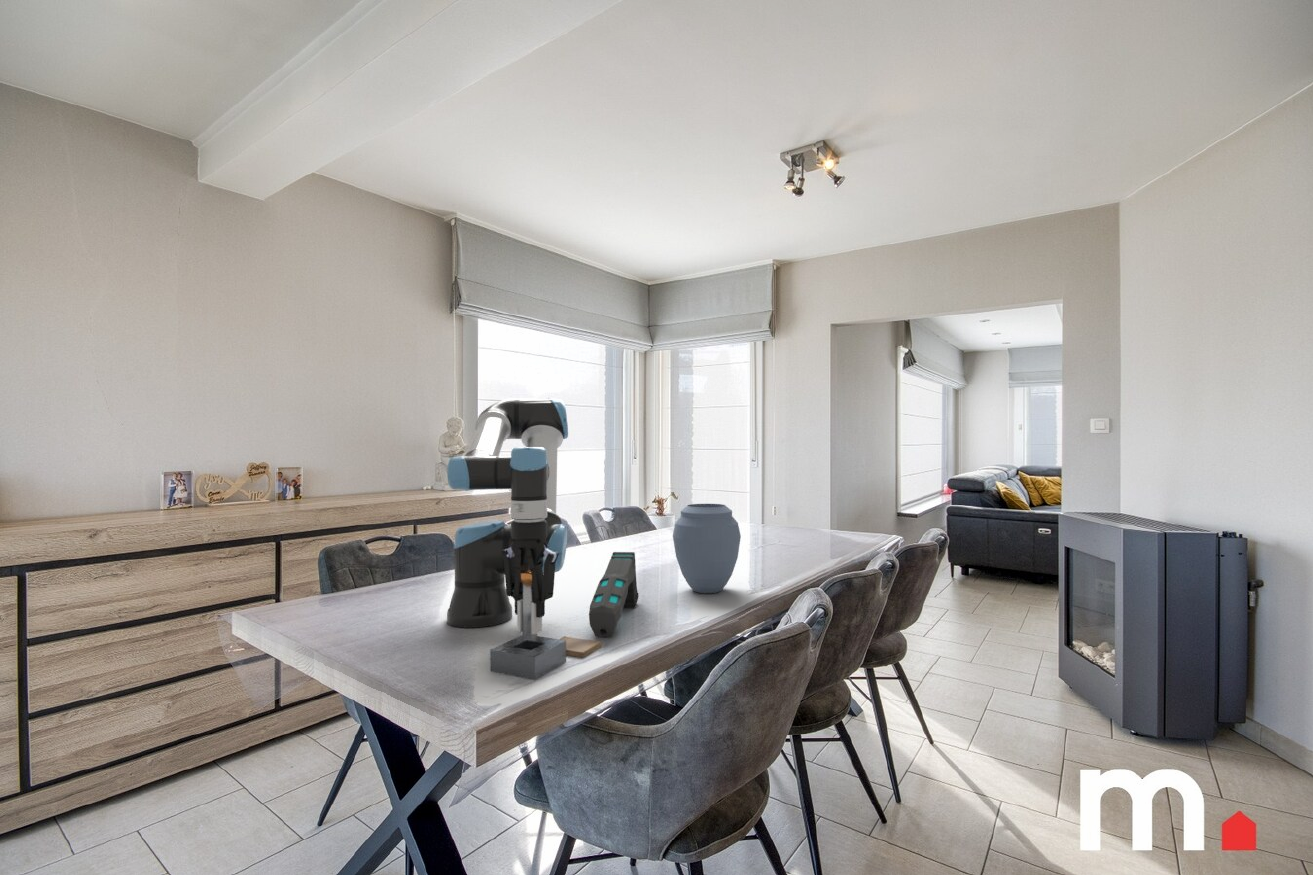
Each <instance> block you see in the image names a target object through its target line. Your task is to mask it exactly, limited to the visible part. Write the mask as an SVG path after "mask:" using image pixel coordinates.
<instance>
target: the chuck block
mask: <svg viewBox="0 0 1313 875" xmlns="http://www.w3.org/2000/svg"><path fill="white" fill-rule="evenodd" d="M489 651H490V652H489V654H490V661H489V662H490V666H489V668H490V669H489V670H490V672H491V673H496V674H501V675H502V674H503V675H507V676H513V677H517V678H523V679H528V680H534V681H536V680H538V679H539V678H541V677H543V676H544V675H546V674H547V673H549V672H550V671H553V670H554V669H555V668H557V667H559V666H561V665H562V664H564V663H566V662H567V655H566V640H560V638H559V639H558V638H552V637H545V636H538V635H537V636H533V635H526V634H523V633H522V634H521V635H519V636H517V637H515V638H512V639H510V640H508V641H507V642H504V643H501V644H500V645H497V646H495V647H493V648H491V649H490V650H489Z"/></svg>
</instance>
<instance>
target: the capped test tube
mask: <svg viewBox="0 0 1313 875" xmlns="http://www.w3.org/2000/svg"><path fill="white" fill-rule="evenodd" d="M520 582H521V583H522V602H523V631H522V635H523V634H526V635H533V636H538V633H536V634H531V602H533V600H534V592H533V584H532V574H531V570H527V571H524V572H521V573H520Z"/></svg>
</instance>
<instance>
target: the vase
mask: <svg viewBox="0 0 1313 875" xmlns="http://www.w3.org/2000/svg"><path fill="white" fill-rule="evenodd" d="M741 536H742V535H741V531H740V526H739V523H738V521H737V520H736V519H735V517H734V516H733V510H732V509H731V508H729V507H728V506H726V504H721V503H693V504H688V505H686V506H684V508H682V509H681V510H680V517H679V518H678V519H677V520H676V521H675V523H674V528H673V534H672V540H673V546H674V554H675V557H676V560H677V564H678V566H679V569H680V571H681V574H682V576H683V578H684V579H685V582H686V583H687V585H688V586H689V587H690V588H691V590H692V591H695V592H696V593H698V594H710V595H711V594H717V593H719V592H721V591H723V589H725V588H726V585H727V584H728V583H729V580H730V579H731V577H732V575H733V573H734V571H735V567H736V565H737V561H738V558H739V551H740V545H741Z"/></svg>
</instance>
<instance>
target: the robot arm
mask: <svg viewBox="0 0 1313 875" xmlns="http://www.w3.org/2000/svg"><path fill="white" fill-rule="evenodd" d="M566 408H567V407H566V405H565V402H564V401H563V400H562V399H560V398H559V399H558V398H557V399H556V398H549V397H548V398H547V399H546V398H541V399H540V398H539V399H538V398H506V399H503V400H500V401H497V402H495V403H494V404H491V405H489V407H487V408H485V409H484V410H483V411H481V413H480V414H479V415H478V417H477V420H476V421H475V426H474V428H475V429H474V430H475V432H474V434H473V437H472V439H471V441H470V443H469V446H468V448H467V450H466V452H465V454H464V456H463V455H460V456H453V457H450V459H449V460H448V463H447V471H446V472H447V482H448V486H449V488H451V489H452V490H455V491H456V490H460V491H461V490H462V491H477V490H480V491H482V490H510V497H511V498H510V518H511V519H512V520H513V521H512V522H511V523H510V525H506V523H505V521H504V520H503V519H498V520H497V519H494V520H492V519H491V520H484V521H480V522H474V523H469V524H466V525H462V526H461V527H458V529H457V530H456V531H455V533H454V545H453V549H454V590H453V593H452V597H451V600H450V604H449V606H448V607H449V608H448V609H447V611H446V623H447V624H448V625H450V626H452V627H457V628H466V629H467V628H469V629H470V628H473V629H474V628H483V627H491V626H495V625H500V624H503V623H505V622H507V621H510V620H511V619H512V617H513V606H512V604H511V602H510V598H509V597H511V598H513V600H514V613H515V616H516V615H517V616H516V617H517V619H516V620H517V621H516V622H517V633H523V602H522V583H521V582H520V573H521V572H524V571H527V570H531V574H532V584H533V592H534V600H533V602H531V634H536V633H537V634H538V633H541V632H542V631H543V617H544V616H545V614H546V612H545V611H546V608H545V607H546V605H545V604H546V601H547V600H549V599H552V598H553V597H554V589H555V574H556V573H558V572H560V571H561V570H562V568H563V566H564V564H565V560H566V552H567V545H568V544H567V543H568V541H567V540H568V525H566V524H563V520H562V518H561V517H560V515H558V514H557V494H558V493H557V490H558V489H557V488H558V486H557V485H558V480H557V479H558V478H557V477H558V448H560V447H561V446H562V444H563V441H564V440H566V439H567V438H569V425H568V419H567V418H568V417H567V416H568V415H567V410H566ZM506 440H521V444H523V447H521V446H519V447H514V448H511V452H510V455H505V456H503V455H502V456H500V454H501V450H502V447H503V444H504V442H505V441H506Z"/></svg>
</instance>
